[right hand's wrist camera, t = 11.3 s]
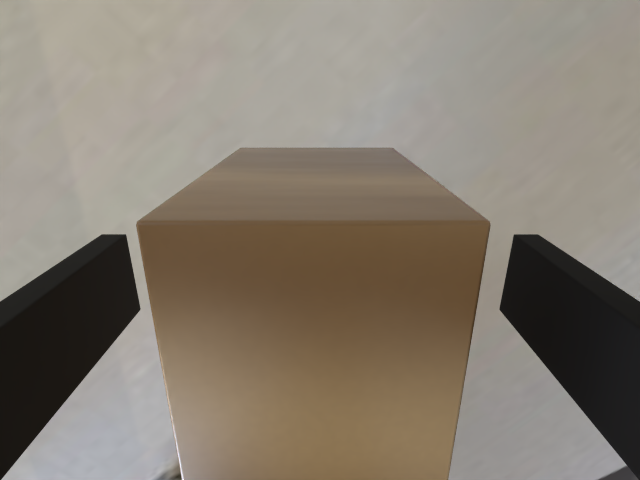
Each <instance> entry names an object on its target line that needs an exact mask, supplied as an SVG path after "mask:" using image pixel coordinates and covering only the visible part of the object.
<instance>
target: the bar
mask: <svg viewBox="0 0 640 480" xmlns="http://www.w3.org/2000/svg"><path fill="white" fill-rule="evenodd" d="M136 227H137V232H138V238H139V243H140V249H141V255H142V260H143V266H144V271H145V277H146V282H147V288H148V293H149V299H150V305H151V310H152V316H153V321H154V327H155V332H156V338H157V343H158V349H159V355H160V360H161V366H162V371H163V377H164V382H165V388H166V393H167V399H168V405H169V410H170V416H171V421H172V427H173V432H174V438H175V444H176V449H177V455H178V460H179V466H180V471H181V477H182V480H448V476H449V470H450V464H451V458H452V452H453V446H454V440H455V434H456V428H457V422H458V416H459V410H460V404H461V398H462V392H463V386H464V380H465V374H466V368H467V362H468V356H469V350H470V344H471V338H472V332H473V326H474V320H475V314H476V308H477V302H478V296H479V291H480V285H481V279H482V273H483V267H484V261H485V255H486V249H487V243H488V237H489V231H490V221H488V220H487V219H486V218H484V217H483V216H482V215H480V214H479V213H478V212H477V211H475V210H474V209H473V208H471V207H470V206H469V205H467V204H466V203H465V202H463V201H462V200H461V199H459V198H458V197H457V196H456V195H454V194H453V193H452V192H450V191H449V190H448V189H446V188H445V187H444V186H442V185H441V184H440V183H438V182H437V181H436V180H434V179H433V178H432V177H431V176H429V175H428V174H427V173H425V172H424V171H423V170H421V169H420V168H419V167H417V166H416V165H415V164H413V163H412V162H411V161H410V160H408V159H407V158H406V157H404V156H403V155H402V154H400V153H399V152H398V151H396V150H395V149H394V148H240V149H238V150H237V151H235V152H234V153H233V154H231V155H230V156H228V157H227V158H226V159H224V160H223V161H221V162H220V163H219V164H217V165H216V166H214V167H213V168H212V169H210V170H209V171H207V172H206V173H205V174H203V175H202V176H200V177H199V178H198V179H196V180H195V181H193V182H192V183H191V184H189V185H188V186H186V187H185V188H184V189H182V190H181V191H179V192H178V193H177V194H175V195H174V196H172V197H171V198H170V199H168V200H167V201H165V202H164V203H163V204H161V205H160V206H158V207H157V208H156V209H154V210H153V211H151V212H150V213H148V214H147V215H146V216H144V217H143V218H141V219H140V220H139V221H137V224H136Z"/></svg>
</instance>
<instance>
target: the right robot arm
mask: <svg viewBox="0 0 640 480" xmlns="http://www.w3.org/2000/svg"><path fill="white" fill-rule="evenodd" d="M139 311H140V304H139V299H138V294H137V289H136V284H135V279H134V273H133V268H132V263H131V258H130V253H129V248H128V242H127V237H126V235H101V236H99V237H97V238H96V239H94V240H93V241H91V242H90V243H88V244H87V245H85V246H84V247H82V248H81V249H79V250H78V251H76V252H75V253H73V254H72V255H70V256H69V257H67V258H66V259H64V260H63V261H61V262H60V263H58V264H57V265H55V266H54V267H52V268H51V269H49V270H48V271H46V272H45V273H43V274H41V275H40V276H38V277H37V278H35V279H34V280H32V281H31V282H29V283H28V284H26V285H25V286H23V287H22V288H20V289H19V290H17V291H16V292H14V293H13V294H11V295H10V296H8V297H7V298H5V299H4V300H2V301H1V302H0V480H1V479H2V478H3V477H4V475H5V474H6V473H7V472H8V470H9V469H10V468H11V467H12V466H13V464H14V463H15V462H16V461H17V460H18V458H19V457H20V456H21V455H22V453H23V452H24V451H25V450H26V449H27V447H28V446H29V445H30V444H31V442H32V441H33V440H34V439H35V438H36V436H37V435H38V434H39V433H40V431H41V430H42V429H43V428H44V427H45V425H46V424H47V423H48V422H49V420H50V419H51V418H52V417H53V416H54V414H55V413H56V412H57V411H58V409H59V408H60V407H61V406H62V405H63V403H64V402H65V401H66V400H67V399H68V397H69V396H70V395H71V394H72V392H73V391H74V390H75V389H76V388H77V386H78V385H79V384H80V383H81V381H82V380H83V379H84V378H85V377H86V375H87V374H88V373H89V372H90V370H91V369H92V368H93V367H94V366H95V364H96V363H97V362H98V361H99V359H100V358H101V357H102V356H103V355H104V353H105V352H106V351H107V350H108V348H109V347H110V346H111V345H112V344H113V342H114V341H115V340H116V339H117V337H118V336H119V335H120V334H121V333H122V331H123V330H124V329H125V328H126V327H127V325H128V324H129V323H130V322H131V320H132V319H133V318H134V317H135V316H136V314H137V313H138V312H139ZM500 311H501V312H502V313H503V314H504V316H505V317H506V318H507V319H508V320H509V322H510V323H511V324H512V325H513V327H514V328H515V329H516V330H517V331H518V333H519V334H520V335H521V336H522V338H523V339H524V340H525V341H526V342H527V344H528V345H529V346H530V347H531V348H532V350H533V351H534V352H535V353H536V355H537V356H538V357H539V358H540V359H541V361H542V362H543V363H544V364H545V366H546V367H547V368H548V369H549V370H550V372H551V373H552V374H553V375H554V377H555V378H556V379H557V380H558V381H559V383H560V384H561V385H562V386H563V388H564V389H565V390H566V391H567V392H568V394H569V395H570V396H571V397H572V399H573V400H574V401H575V402H576V403H577V405H578V406H579V407H580V408H581V409H582V411H583V412H584V413H585V414H586V416H587V417H588V418H589V419H590V420H591V422H592V423H593V424H594V425H595V427H596V428H597V429H598V430H599V431H600V433H601V434H602V435H603V436H604V438H605V439H606V440H607V441H608V442H609V444H610V445H611V446H612V447H613V449H614V450H615V451H616V452H617V453H618V455H619V456H620V457H621V458H622V460H623V461H624V462H625V463H626V464H627V466H628V467H629V468H630V469H631V470H632V472H633V473H634V474H635V475H636V477H637V478H638V479H639V480H640V302H639V301H638V300H636V299H635V298H633V297H632V296H630V295H629V294H627V293H626V292H624V291H623V290H621V289H620V288H618V287H617V286H615V285H614V284H612V283H611V282H609V281H608V280H606V279H605V278H603V277H602V276H600V275H598V274H597V273H595V272H594V271H592V270H591V269H589V268H588V267H586V266H585V265H583V264H582V263H580V262H579V261H577V260H576V259H574V258H573V257H571V256H570V255H568V254H567V253H565V252H564V251H562V250H561V249H559V248H558V247H556V246H555V245H553V244H552V243H550V242H549V241H547V240H546V239H544V238H543V237H541V236H539V235H514V237H513V242H512V247H511V253H510V258H509V263H508V268H507V273H506V278H505V284H504V289H503V294H502V299H501V304H500Z"/></svg>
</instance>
